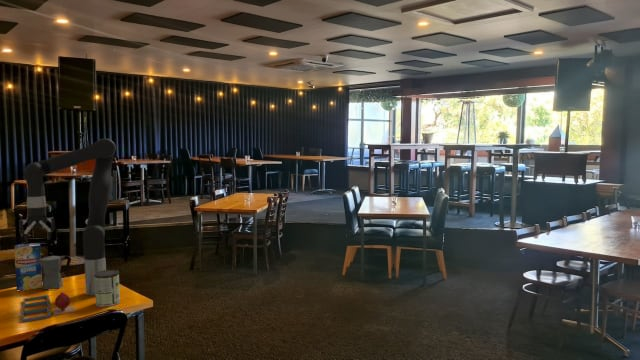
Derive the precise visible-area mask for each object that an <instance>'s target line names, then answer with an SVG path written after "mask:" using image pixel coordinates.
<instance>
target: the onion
mask: <svg viewBox="0 0 640 360" xmlns="http://www.w3.org/2000/svg"><path fill="white" fill-rule="evenodd" d="M70 303H71V298H70V296H69V295H68V294H66V293H65V292H64V291H60V292H59V294H58V295H57V296H56V298H55V299H54V305H55V306H56V308H60V309H61V310H64V309H65V308H67V307H68V306H70Z"/></svg>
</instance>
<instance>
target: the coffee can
mask: <svg viewBox="0 0 640 360" xmlns="http://www.w3.org/2000/svg"><path fill="white" fill-rule="evenodd" d="M94 276H95V295H94V296H95V306H96V307H99V308H101V307H102V308H105V307H106V308H107V307H111V306H116V305H118V304H119V303H121V295H120V293H121V291H120V271H119V270H117V269H106V270H104V271H99V272H96V273H95V274H94Z"/></svg>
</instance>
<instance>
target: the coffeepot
mask: <svg viewBox="0 0 640 360" xmlns="http://www.w3.org/2000/svg"><path fill="white" fill-rule="evenodd" d="M48 254H49V256H45V257H41V259H39V260H37V262H38V263H39V264H40V265H41V269H42V271H43V272H42V273H43V278H42V290H44V289H47V290H46V291H49V290H48V289H54V290H58V289H60V287H61V288H62V287H63V286H64V283H63V280H62V275H61V273H60V271H61V268H62V261H64V260H67V261H66V265H65V269H63V270H62V272H64V273H66V272H68V270H69V268H70V265H71V261H72V258H71V257H70V256H69V255H53V254H54V252H52V251H51V252H49V253H48ZM57 288H58V289H57Z"/></svg>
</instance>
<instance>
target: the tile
mask: <svg viewBox="0 0 640 360" xmlns="http://www.w3.org/2000/svg"><path fill="white" fill-rule="evenodd" d="M51 309H52V310H51V311H52V315H53V317H55V316H59V315H64V314H65V315H66V314H71V313H75V312H76V309H75V308H74V306H73V305H69V306H68V307H67V308H65V309H64V310H61V309H60V308H58V307H56V308H51Z"/></svg>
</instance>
